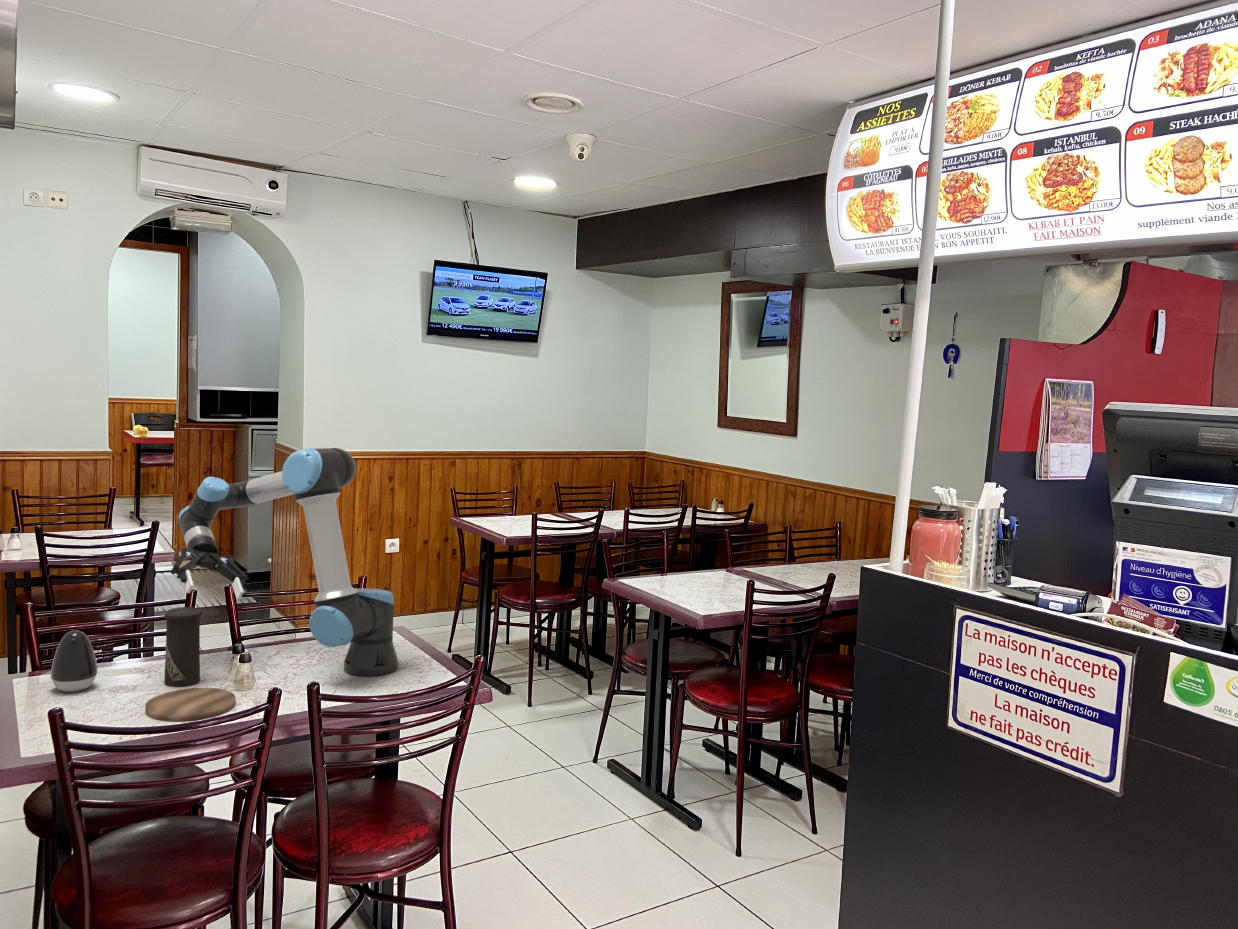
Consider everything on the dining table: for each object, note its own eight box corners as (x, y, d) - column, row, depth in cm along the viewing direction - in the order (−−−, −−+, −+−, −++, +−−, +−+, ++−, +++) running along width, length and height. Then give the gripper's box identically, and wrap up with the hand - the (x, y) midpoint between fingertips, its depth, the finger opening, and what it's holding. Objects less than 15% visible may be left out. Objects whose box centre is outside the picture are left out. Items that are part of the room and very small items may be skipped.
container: (164, 678, 238) (165, 605, 237) (201, 676, 242) (203, 604, 240) (162, 688, 230) (163, 613, 229) (200, 686, 234) (201, 611, 232)
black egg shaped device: (48, 697, 220) (48, 637, 219) (52, 685, 229) (53, 627, 228) (96, 693, 225) (96, 634, 224) (98, 680, 234) (98, 624, 233)
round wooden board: (251, 697, 227) (251, 691, 227) (204, 725, 207) (204, 718, 207) (179, 690, 230) (179, 684, 230) (126, 717, 210) (126, 710, 210)
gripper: (238, 562, 263) (254, 608, 248) (150, 548, 245) (162, 597, 231) (248, 542, 261) (265, 588, 246) (161, 526, 243) (173, 575, 229)
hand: (215, 592), depth 239 cm, fingers open, 13 cm apart
